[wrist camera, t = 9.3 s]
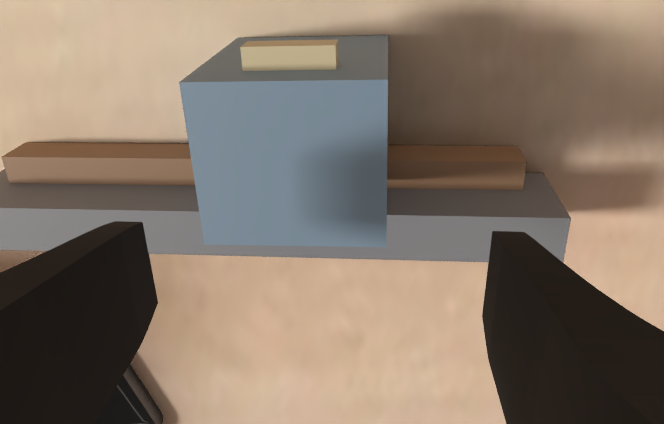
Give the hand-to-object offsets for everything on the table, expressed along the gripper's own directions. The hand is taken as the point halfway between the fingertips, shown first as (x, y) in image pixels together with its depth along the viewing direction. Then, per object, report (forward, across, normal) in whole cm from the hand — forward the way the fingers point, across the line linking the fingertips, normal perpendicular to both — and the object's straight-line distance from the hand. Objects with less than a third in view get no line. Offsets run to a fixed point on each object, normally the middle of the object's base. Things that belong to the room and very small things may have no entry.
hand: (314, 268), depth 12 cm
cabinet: (+9, +1, -1) cm, 9 cm away
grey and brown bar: (+9, +3, +2) cm, 10 cm away
